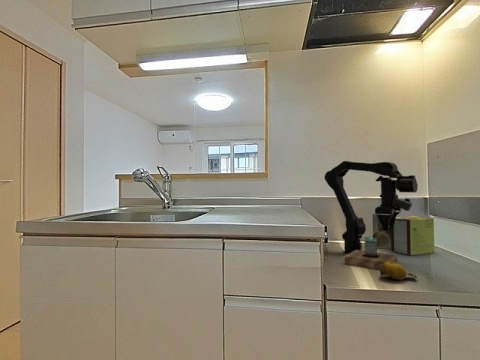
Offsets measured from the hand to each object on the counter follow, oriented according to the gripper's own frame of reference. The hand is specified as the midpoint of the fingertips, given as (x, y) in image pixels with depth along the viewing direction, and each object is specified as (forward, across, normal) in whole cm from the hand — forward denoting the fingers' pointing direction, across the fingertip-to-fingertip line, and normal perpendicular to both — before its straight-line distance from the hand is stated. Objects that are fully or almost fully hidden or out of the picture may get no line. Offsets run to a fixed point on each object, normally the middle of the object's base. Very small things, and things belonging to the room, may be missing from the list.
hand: (389, 229), depth 128 cm
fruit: (+13, -26, -9) cm, 31 cm away
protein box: (+12, +20, -5) cm, 24 cm away
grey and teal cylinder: (+12, -12, +4) cm, 17 cm away
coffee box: (+12, +22, +8) cm, 26 cm away
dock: (+12, -12, +4) cm, 17 cm away
